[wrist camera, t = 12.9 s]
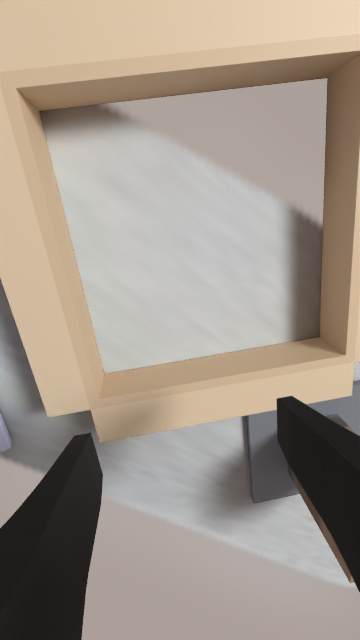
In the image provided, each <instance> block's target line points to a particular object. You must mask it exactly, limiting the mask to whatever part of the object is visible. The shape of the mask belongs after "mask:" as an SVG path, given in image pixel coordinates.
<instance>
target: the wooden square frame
mask: <svg viewBox="0 0 360 640" xmlns="http://www.w3.org/2000/svg"><path fill="white" fill-rule="evenodd" d="M322 78H328V83H327V84H328V85H327V116H326V148H325V180H324V212H323V243H322V275H321V307H320V337H316V338H311V339H305V340H299V341H293V342H287V343H282V344H276V345H270V346H264V347H259V348H253V349H247V350H241V351H236V352H230V353H224V354H218V355H212V356H207V357H201V358H195V359H189V360H184V361H178V362H172V363H166V364H160V365H155V366H149V367H143V368H137V369H132V370H126V371H120V372H114V373H109V374H104V371H103V367H102V363H101V359H100V355H99V351H98V347H97V343H96V339H95V335H94V330H93V326H92V322H91V318H90V314H89V310H88V306H87V302H86V298H85V294H84V290H83V286H82V282H81V278H80V274H79V270H78V266H77V262H76V258H75V254H74V250H73V246H72V242H71V238H70V234H69V230H68V226H67V222H66V218H65V214H64V210H63V206H62V202H61V198H60V194H59V190H58V186H57V182H56V178H55V174H54V170H53V166H52V162H51V158H50V153H49V149H48V145H47V141H46V137H45V133H44V129H43V125H42V121H41V117H40V113H39V111H44V110H53V109H61V108H70V107H79V106H87V105H96V104H105V103H114V102H121V101H131V100H140V99H148V98H157V97H165V96H174V95H183V94H191V93H200V92H209V91H218V90H226V89H235V88H244V87H252V86H261V85H270V84H279V83H287V82H296V81H304V80H314V79H322ZM0 278H1V281H2V284H3V287H4V290H5V293H6V296H7V299H8V302H9V305H10V308H11V311H12V313H13V316H14V319H15V322H16V325H17V328H18V331H19V334H20V337H21V340H22V343H23V346H24V349H25V352H26V354H27V357H28V360H29V363H30V366H31V369H32V372H33V375H34V378H35V381H36V384H37V387H38V390H39V393H40V395H41V398H42V401H43V404H44V407H45V410H46V413H47V416H48V417H53V416H59V415H64V414H70V413H75V412H81V411H87V410H91V413H92V417H93V420H94V424H95V428H96V431H97V435H98V438H99V442H100V443H102V442H108V441H113V440H118V439H123V438H129V437H134V436H139V435H145V434H150V433H155V432H161V431H166V430H171V429H177V428H182V427H187V426H193V425H198V424H203V423H209V422H214V421H219V420H225V419H230V418H235V417H241V416H246V415H251V414H257V413H262V412H267V411H273V410H277V398H282V397H288V396H293V397H295V398H296V399H298V400H300V401H301V402H303V403H304V404H310V403H315V402H320V401H326V400H331V399H336V398H342V397H347V396H352V387H353V374H354V362H358V361H360V0H0Z"/></svg>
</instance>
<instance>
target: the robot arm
mask: <svg viewBox="0 0 360 640" xmlns="http://www.w3.org/2000/svg"><path fill="white" fill-rule="evenodd" d="M277 440H278V443H279V445H280V447H281V449H282V452H283V454H284V456H285V458H286V460H287V462H288V464H289V466H290V468H291V470H292V471H293V473H294V474H295V476H296V478H297V479H298V481H299V483H300V484H301V486H302V488H303V489H304V491H305V492H306V494H307V496H308V497H309V499H310V501H311V502H312V504H313V505H314V507H315V509H316V510H317V512H318V513H319V515H320V517H321V518H322V520H323V522H324V523H325V525H326V527H327V529H328V530H329V532H330V534H331V536H332V537H333V539H334V541H335V543H336V545H337V547H338V549H339V551H340V553H341V555H342V557H343V559H344V561H345V563H346V565H347V567H348V569H349V571H350V573H351V575H352V578H353V580H354V582H355V584H356V586H357V588H358V590H359V592H360V436H359V435H357V434H355V433H353V432H351V431H350V430H348V429H346V428H344V427H342V426H341V425H339V424H337V423H336V422H334V421H332V420H330V419H329V418H327V417H325V416H324V415H322V414H321V413H319V412H317V411H316V410H314V409H312V408H311V407H309V406H308V405H306V404H304V403H303V402H301V401H300V400H298V399H296V398H295V397H293V396H288V397H282V398H277ZM11 444H12V441H11V438H10V436H9V433H8V431H7V428H6V426H5V423H4V421H3V418H2V416H1V413H0V452H2V451H6V450H8V449H9V448H10V446H11ZM102 479H103V474H102V470H101V467H100V463H99V460H98V456H97V453H96V449H95V446H94V442H93V439H92V436H91V433H88V434H83V435H77V436H74V437H73V439H72V440H71V441H70V443H69V444H68V445H67V447H66V448H65V449H64V451H63V452H62V453H61V455H60V456H59V458H58V459H57V460H56V462H55V463H54V464H53V466H52V467H51V468H50V470H49V471H48V472H47V474H46V475H45V476H44V478H43V479H42V480H41V482H40V483H39V484H38V486H37V487H36V488H35V489H34V491H33V492H32V493H31V494H30V495H29V497H28V498H27V499H26V500H25V501H24V503H23V504H22V505H21V506H20V507H19V509H18V510H17V511H16V512H15V513H14V514H13V515H12V517H11V518H10V519H9V520H8V521H7V522H6V523H5V524H4V525H3V526H2V527H1V528H0V640H81V637H82V625H83V615H84V605H85V594H86V586H87V578H88V572H89V566H90V561H91V555H92V550H93V545H94V539H95V534H96V528H97V523H98V517H99V512H100V506H101V496H102Z"/></svg>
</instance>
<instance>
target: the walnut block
mask: <svg viewBox="0 0 360 640" xmlns="http://www.w3.org/2000/svg"><path fill="white" fill-rule="evenodd" d="M325 417H327V418H329V419H330V420H332V421H334V422H336V423H337V424H339V425H341V426H342V427H344V428H346V429H348V430H350V431H351V432H353V433H355V432H354V431H353V430H352V429H351V428H350V427H349V426H348V425H347V424H346V422H345V421H344V420H343V419H342V418H341V417H340V416H339V415H338V414H337V413H336V414H331V415H326V416H325ZM355 434H356V433H355ZM288 473H289V475H290V477H291V479H292V480H293V482H294V484H295V486H296V487H297V489H298V491H299V493H300V495H301V496H302V498H303V500H304V502H305V503H306V505H307V507H308V509H309V511H310V512H311V514H312V516H313V518H314V519H315V521H316V523H317V525H318V527H319V528H320V530H321V532H322V534H323V535H324V537H325V539H326V541H327V543H328V544H329V546H330V548H331V550H332V551H333V553H334V555H335V557H336V559H337V560H338V562H339V564H340V566H341V567H342V569H343V571H344V573H345V575H346V576H347V578H348V580H349V582H350V583H352V582H354V580H353V578H352V575H351V573H350V571H349V569H348V567H347V565H346V563H345V561H344V559H343V557H342V555H341V553H340V551H339V549H338V547H337V545H336V543H335V541H334V539H333V537H332V536H331V534H330V532H329V530H328V529H327V527H326V525H325V523H324V522H323V520H322V518H321V517H320V515H319V513H318V512H317V510H316V509H315V507H314V505H313V504H312V502H311V501H310V499H309V497H308V496H307V494H306V492H305V491H304V489H303V488H302V486H301V484H300V483H299V481H298V479H297V478H296V476H295V474H294V473H293V471H292V470H291V468H290V466H289V464H288Z"/></svg>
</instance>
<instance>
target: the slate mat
mask: <svg viewBox="0 0 360 640" xmlns="http://www.w3.org/2000/svg"><path fill="white" fill-rule="evenodd" d="M306 405H308V406H309V407H311V408H312V409H314V410H316V411H317V412H319V413H321V414H322V415H324V416H326V415H331V414H336V413H337V414H338V415H339V416H340V417H341V418H342V419H343V420H344V421H345V422H346V424H347V425H348V426H349V427H350V428H351V429H352V430H353V431H354V432H355V433H356V434H357V435H359V436H360V380H359V381H354V382H353V387H352V396H347V397H342V398H336V399H331V400H326V401H320V402H315V403H310V404H306ZM247 429H248V444H249V459H250V474H251V489H252V499H253V502H254V503H258V502H263V501H268V500H273V499H277V498H282V497H287V496H292V495H297V494H300V493H299V491H298V489H297V487H296V486H295V484H294V482H293V480H292V479H291V477H290V475H289V473H288V462H287V460H286V458H285V456H284V454H283V452H282V449H281V447H280V445H279V443H278V440H277V410H273V411H267V412H262V413H257V414H251V415H247Z"/></svg>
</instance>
